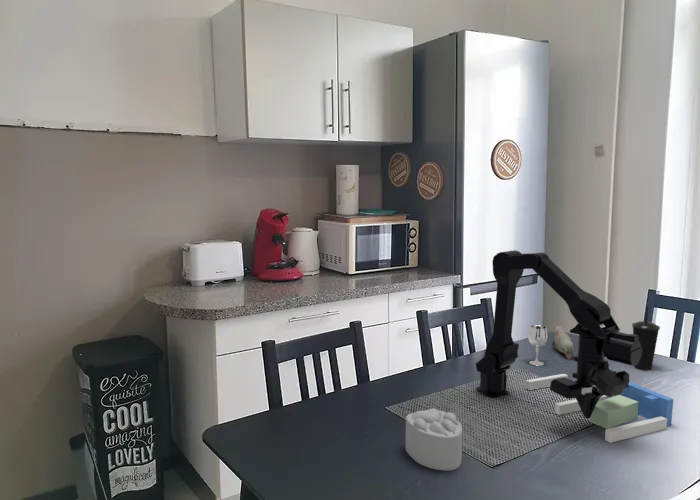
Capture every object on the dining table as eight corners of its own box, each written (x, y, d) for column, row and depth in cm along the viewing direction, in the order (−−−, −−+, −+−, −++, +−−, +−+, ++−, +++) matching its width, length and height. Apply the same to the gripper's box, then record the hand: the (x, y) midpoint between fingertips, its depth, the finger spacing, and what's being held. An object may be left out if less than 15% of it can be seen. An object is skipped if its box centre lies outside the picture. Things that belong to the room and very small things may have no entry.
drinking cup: (623, 365, 172) (627, 304, 169) (640, 362, 175) (644, 301, 172) (645, 373, 165) (650, 309, 162) (662, 369, 168) (667, 306, 166)
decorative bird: (560, 360, 178) (562, 338, 177) (549, 345, 193) (550, 325, 192) (577, 361, 177) (579, 338, 176) (565, 346, 193) (566, 325, 192)
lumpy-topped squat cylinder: (439, 437, 124) (440, 401, 123) (473, 465, 112) (475, 425, 111) (399, 446, 120) (400, 408, 119) (430, 475, 108) (431, 434, 107)
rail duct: (610, 442, 121) (612, 415, 120) (514, 390, 151) (515, 368, 150) (675, 426, 129) (677, 400, 129) (571, 380, 159) (572, 359, 158)
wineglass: (548, 366, 171) (550, 329, 169) (530, 366, 171) (532, 329, 170) (542, 360, 177) (544, 324, 175) (524, 360, 177) (526, 324, 175)
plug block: (607, 430, 128) (608, 412, 128) (588, 422, 132) (589, 404, 132) (637, 419, 134) (638, 401, 134) (618, 411, 138) (619, 394, 138)
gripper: (587, 370, 116) (583, 439, 118) (649, 360, 124) (644, 425, 126) (550, 355, 127) (547, 419, 129) (609, 346, 134) (605, 406, 136)
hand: (586, 417), depth 129 cm, fingers closed
